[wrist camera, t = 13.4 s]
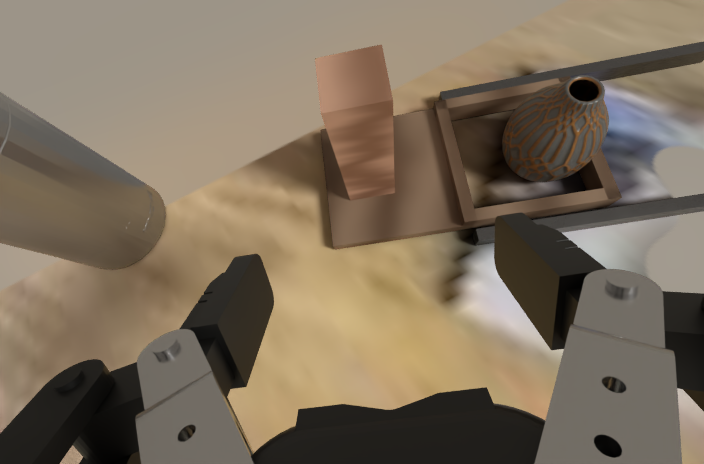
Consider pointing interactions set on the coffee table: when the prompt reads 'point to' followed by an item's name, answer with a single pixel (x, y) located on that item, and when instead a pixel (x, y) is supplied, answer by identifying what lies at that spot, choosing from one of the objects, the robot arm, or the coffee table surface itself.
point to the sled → (416, 158)
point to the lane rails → (602, 72)
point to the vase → (556, 130)
